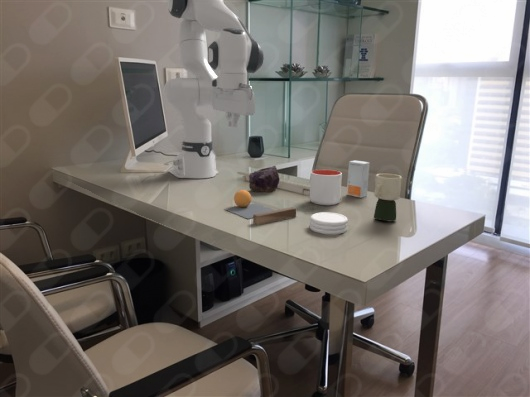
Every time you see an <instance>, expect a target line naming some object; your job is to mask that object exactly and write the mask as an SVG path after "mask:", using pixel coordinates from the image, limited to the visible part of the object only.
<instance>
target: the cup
mask: <svg viewBox="0 0 530 397" xmlns="http://www.w3.org/2000/svg"><path fill="white" fill-rule="evenodd" d="M342 177H343V173H342V172H341V171H338V170H334V169H314V170H311V171H310V180H309V181H310V182H309V183H310V184H309V200H310V202H311V203H313V204H315V205H320V206H333V205H336V204H338V203H340V201H341V195H342V193H341V192H342V181H343V180H342V179H343V178H342Z"/></svg>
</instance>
